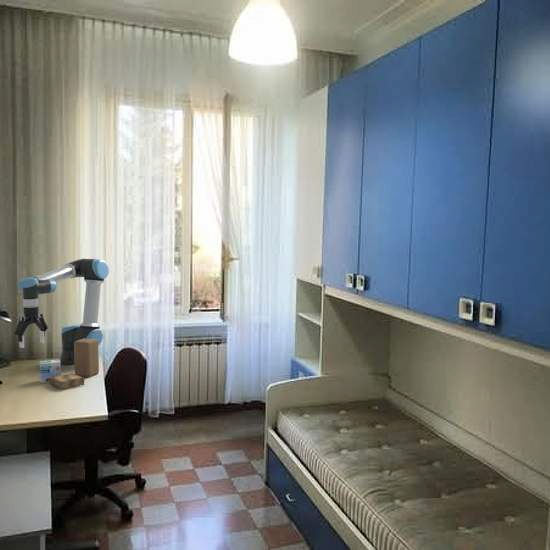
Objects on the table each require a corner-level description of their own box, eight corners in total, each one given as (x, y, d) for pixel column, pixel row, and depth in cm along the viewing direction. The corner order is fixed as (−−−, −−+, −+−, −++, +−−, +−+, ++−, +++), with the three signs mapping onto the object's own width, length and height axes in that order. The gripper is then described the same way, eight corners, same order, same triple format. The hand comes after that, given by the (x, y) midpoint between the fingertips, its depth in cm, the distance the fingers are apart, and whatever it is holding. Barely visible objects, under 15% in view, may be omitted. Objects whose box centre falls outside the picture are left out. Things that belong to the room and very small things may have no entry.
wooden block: (73, 376, 319) (72, 341, 317) (84, 371, 329) (83, 337, 327) (89, 377, 316) (88, 342, 314) (99, 373, 326) (98, 339, 324)
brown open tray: (72, 380, 311) (72, 372, 310) (84, 384, 302) (84, 377, 301) (49, 385, 301) (49, 377, 301) (61, 390, 292) (60, 382, 292)
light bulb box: (40, 383, 304) (39, 363, 303) (39, 380, 310) (38, 361, 309) (61, 381, 309) (61, 361, 308) (60, 378, 315) (59, 359, 314)
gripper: (43, 303, 318) (45, 340, 320) (6, 309, 295) (7, 349, 297) (53, 304, 315) (55, 341, 317) (16, 310, 292) (18, 350, 294)
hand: (32, 345), depth 307 cm, fingers open, 13 cm apart
